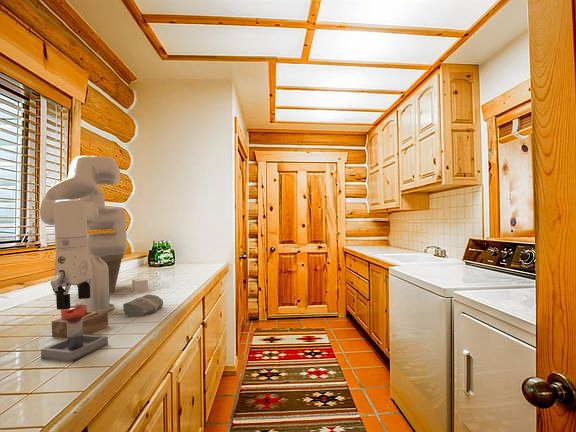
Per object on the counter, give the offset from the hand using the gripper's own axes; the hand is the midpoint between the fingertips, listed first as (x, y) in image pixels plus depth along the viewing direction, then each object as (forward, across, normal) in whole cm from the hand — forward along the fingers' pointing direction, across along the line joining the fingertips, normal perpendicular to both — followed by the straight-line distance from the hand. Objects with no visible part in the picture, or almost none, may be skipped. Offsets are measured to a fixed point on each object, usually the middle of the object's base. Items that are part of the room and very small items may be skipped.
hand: (74, 303), depth 87 cm
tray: (+13, -1, 0) cm, 13 cm away
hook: (+13, -1, 0) cm, 13 cm away
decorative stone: (+15, +34, -6) cm, 37 cm away
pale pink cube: (+16, +72, +9) cm, 74 cm away
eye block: (+14, +16, +7) cm, 22 cm away
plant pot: (+16, +72, +30) cm, 80 cm away
